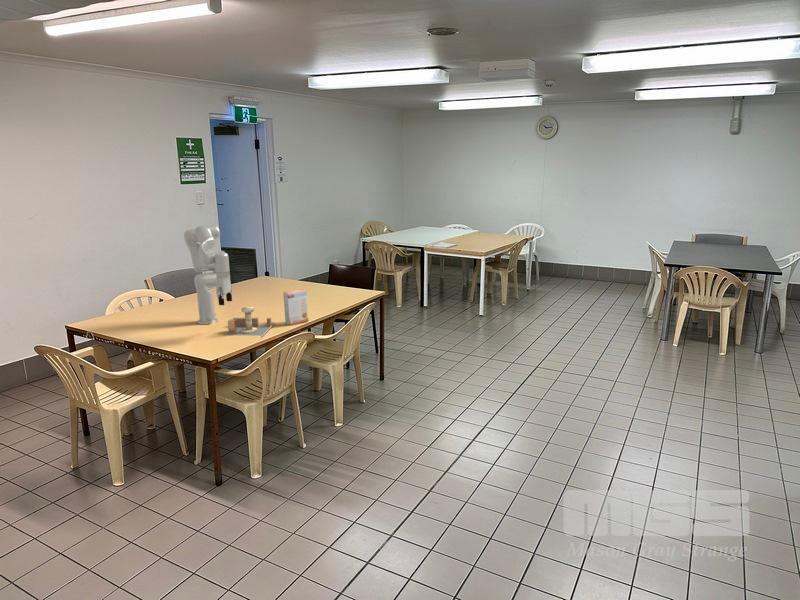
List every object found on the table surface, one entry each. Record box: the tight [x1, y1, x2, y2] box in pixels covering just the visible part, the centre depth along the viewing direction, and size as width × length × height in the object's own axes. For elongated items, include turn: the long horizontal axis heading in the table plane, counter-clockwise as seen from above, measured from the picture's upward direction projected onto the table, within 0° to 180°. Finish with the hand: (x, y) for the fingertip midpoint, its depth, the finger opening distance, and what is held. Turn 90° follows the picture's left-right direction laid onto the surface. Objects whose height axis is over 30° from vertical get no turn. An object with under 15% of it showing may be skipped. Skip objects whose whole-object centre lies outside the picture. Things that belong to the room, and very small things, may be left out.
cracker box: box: [282, 288, 309, 326], centre depth 342 cm, size 14×6×21 cm, turn 131°
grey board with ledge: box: [223, 317, 273, 339], centre depth 324 cm, size 20×23×6 cm
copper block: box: [227, 318, 238, 333], centre depth 321 cm, size 4×4×7 cm
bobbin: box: [241, 306, 257, 334], centre depth 321 cm, size 9×9×14 cm
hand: (225, 303), depth 315 cm, fingers open, 9 cm apart
